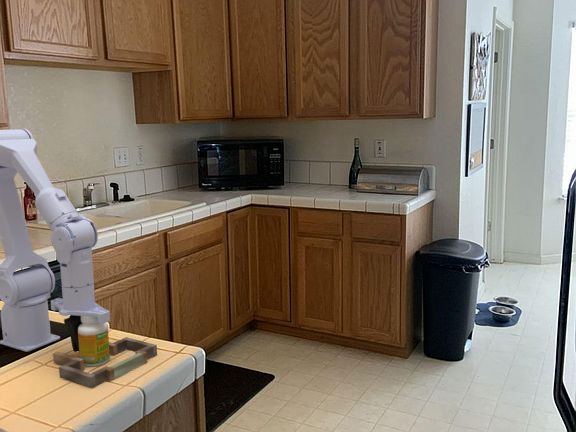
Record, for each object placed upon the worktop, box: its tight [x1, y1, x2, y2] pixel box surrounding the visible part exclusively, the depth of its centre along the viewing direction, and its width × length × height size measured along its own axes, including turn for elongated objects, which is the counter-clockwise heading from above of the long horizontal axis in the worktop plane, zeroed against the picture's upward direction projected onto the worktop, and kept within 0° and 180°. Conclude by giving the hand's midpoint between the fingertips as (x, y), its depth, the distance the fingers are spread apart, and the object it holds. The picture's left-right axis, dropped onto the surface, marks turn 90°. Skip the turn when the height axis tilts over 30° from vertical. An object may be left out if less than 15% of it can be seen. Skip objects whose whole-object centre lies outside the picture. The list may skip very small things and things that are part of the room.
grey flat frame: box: [52, 336, 158, 389], centre depth 105 cm, size 16×16×2 cm
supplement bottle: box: [78, 316, 111, 368], centre depth 105 cm, size 5×5×10 cm
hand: (82, 350), depth 108 cm, fingers closed, pressing on supplement bottle
